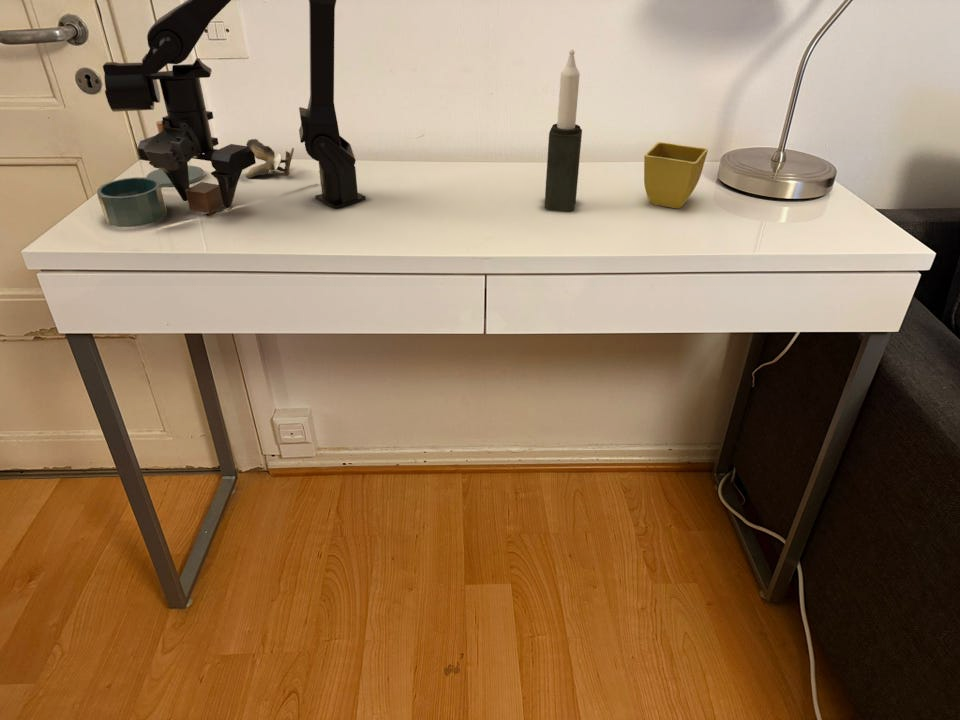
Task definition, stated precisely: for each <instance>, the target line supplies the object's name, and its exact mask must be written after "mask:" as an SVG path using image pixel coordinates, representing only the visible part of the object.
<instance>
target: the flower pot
mask: <svg viewBox="0 0 960 720" xmlns="http://www.w3.org/2000/svg"><path fill="white" fill-rule="evenodd" d="M708 152H709V149H708V148H706V147H705V148H704V147H698V146H690V145H681V144H677V143H676V144H675V143H671V142H661V141H659V142H656V143H655V144H654V145H653V146H652V147H651V148H650V149H649V150H648V151H647V152H646V153H645V154H644V155H643V156H644V158H643V162H644V163H643V184H644V188H645V193H646V196H647V198H648V200H649V202H650V204H652V205H655V206H660V207H661V206H662V207H666V208H667V207H668V208H673V209H681V208H682V207H683V206H684V204H685V203H686V201H688V199H689V198H690V196H691V195H692V193H693V192H694V190H695V189H696V187H697V185H698V183H699V181H700V178H701V175H702V173H703V169H704V166H705V162H706V159H707V155H708Z"/></svg>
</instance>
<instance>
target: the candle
mask: <svg viewBox="0 0 960 720" xmlns="http://www.w3.org/2000/svg"><path fill="white" fill-rule="evenodd" d="M568 54H569V55H568V58H567V61H566V63H565V66H564V67H563V69H562V70H561V72H560V77H559V78H560V79H559V93H558V105H557V106H558V107H557V108H558V109H557V121H556V123H554V124H553V125H552V126H551V127H550V130H549V132H548V144H547V145H548V147H547V158H546V159H547V161H546V175H545V191H544V209H545V210H546V211H553V212H562V213H563V212H565V213H570V212H574V211H575V206H576V203H577V193H578V192H577V191H578V183H579V181H578V180H579V170H580V157H581V147H582V138H583V137H582V135H583V129H582V128H581V126H580V125H579V124H576V123H577V110H578V97H579V87H580V84H579V83H580V76H581V75H580V71H579V69H578V67H577V65H576V64H577V63H576V60H575V50H574V49H573V48H572V49H569V51H568Z"/></svg>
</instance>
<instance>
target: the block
mask: <svg viewBox="0 0 960 720" xmlns="http://www.w3.org/2000/svg"><path fill="white" fill-rule="evenodd" d="M189 187H190V188H188V189H186V194H187V199H188V201H187V202H188V203H187V204H188V207H189V210H190V211H195V212H200V213H204V214H203V216H206V217H212V216H214V215H215V214H218V213H220V212H222V211H223V210H224V209H223V208H222V207H225V206H224V204H223V201H222V196H221V192H220V188H219V184H217V183H210V182H204V181H200V182H199V183H196V184H194V185H193V186H189ZM221 208H222V209H221Z"/></svg>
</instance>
